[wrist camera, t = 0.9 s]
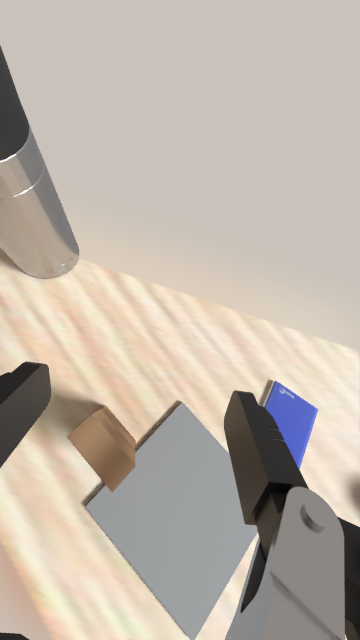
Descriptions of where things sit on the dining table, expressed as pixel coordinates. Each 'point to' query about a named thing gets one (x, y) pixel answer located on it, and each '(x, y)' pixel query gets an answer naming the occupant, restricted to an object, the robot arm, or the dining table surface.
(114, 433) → the brown cardboard box
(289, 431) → the hard drive
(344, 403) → the dining table surface
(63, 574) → the dining table surface
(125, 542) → the grey mat
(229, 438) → the robot arm
